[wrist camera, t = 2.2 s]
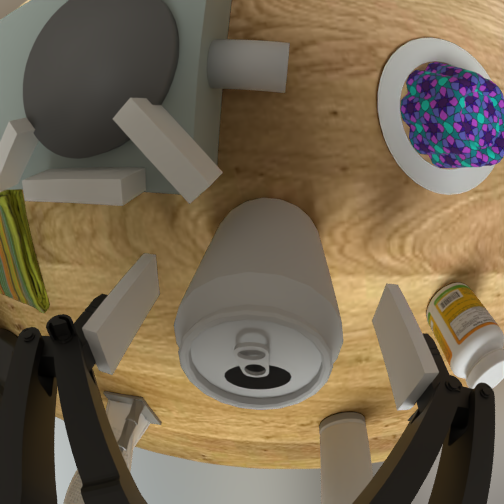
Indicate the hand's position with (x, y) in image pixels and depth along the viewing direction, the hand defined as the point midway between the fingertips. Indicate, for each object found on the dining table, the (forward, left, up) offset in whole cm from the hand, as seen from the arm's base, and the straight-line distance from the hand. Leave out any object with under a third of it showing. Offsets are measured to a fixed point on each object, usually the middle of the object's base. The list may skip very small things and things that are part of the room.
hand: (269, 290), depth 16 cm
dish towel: (-42, -4, -7) cm, 43 cm away
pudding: (+12, +12, -7) cm, 18 cm away
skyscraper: (-17, -30, -6) cm, 35 cm away
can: (0, 0, -6) cm, 6 cm away
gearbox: (-12, +12, -6) cm, 18 cm away
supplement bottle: (+18, -4, -6) cm, 19 cm away
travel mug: (+13, -25, -6) cm, 29 cm away
